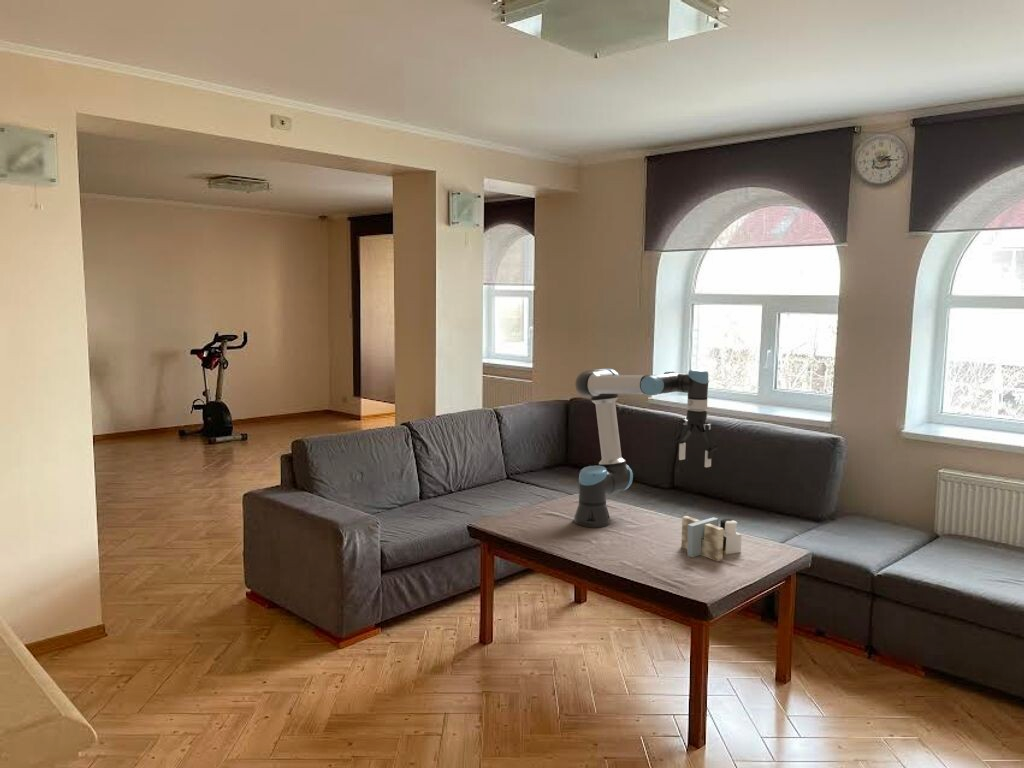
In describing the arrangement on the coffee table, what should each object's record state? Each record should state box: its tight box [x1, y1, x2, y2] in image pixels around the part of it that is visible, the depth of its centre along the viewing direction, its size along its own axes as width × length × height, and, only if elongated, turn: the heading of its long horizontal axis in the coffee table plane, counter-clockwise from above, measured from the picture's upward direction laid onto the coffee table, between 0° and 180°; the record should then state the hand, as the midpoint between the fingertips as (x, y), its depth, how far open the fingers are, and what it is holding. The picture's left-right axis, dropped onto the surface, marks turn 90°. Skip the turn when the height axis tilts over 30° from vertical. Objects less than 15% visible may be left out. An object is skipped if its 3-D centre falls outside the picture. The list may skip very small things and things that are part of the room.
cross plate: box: [686, 517, 719, 558], centre depth 278 cm, size 14×2×12 cm, turn 123°
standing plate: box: [680, 515, 724, 562], centre depth 278 cm, size 18×2×12 cm, turn 33°
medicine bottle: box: [719, 518, 742, 555], centre depth 281 cm, size 7×7×12 cm
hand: (694, 463), depth 289 cm, fingers open, 13 cm apart
